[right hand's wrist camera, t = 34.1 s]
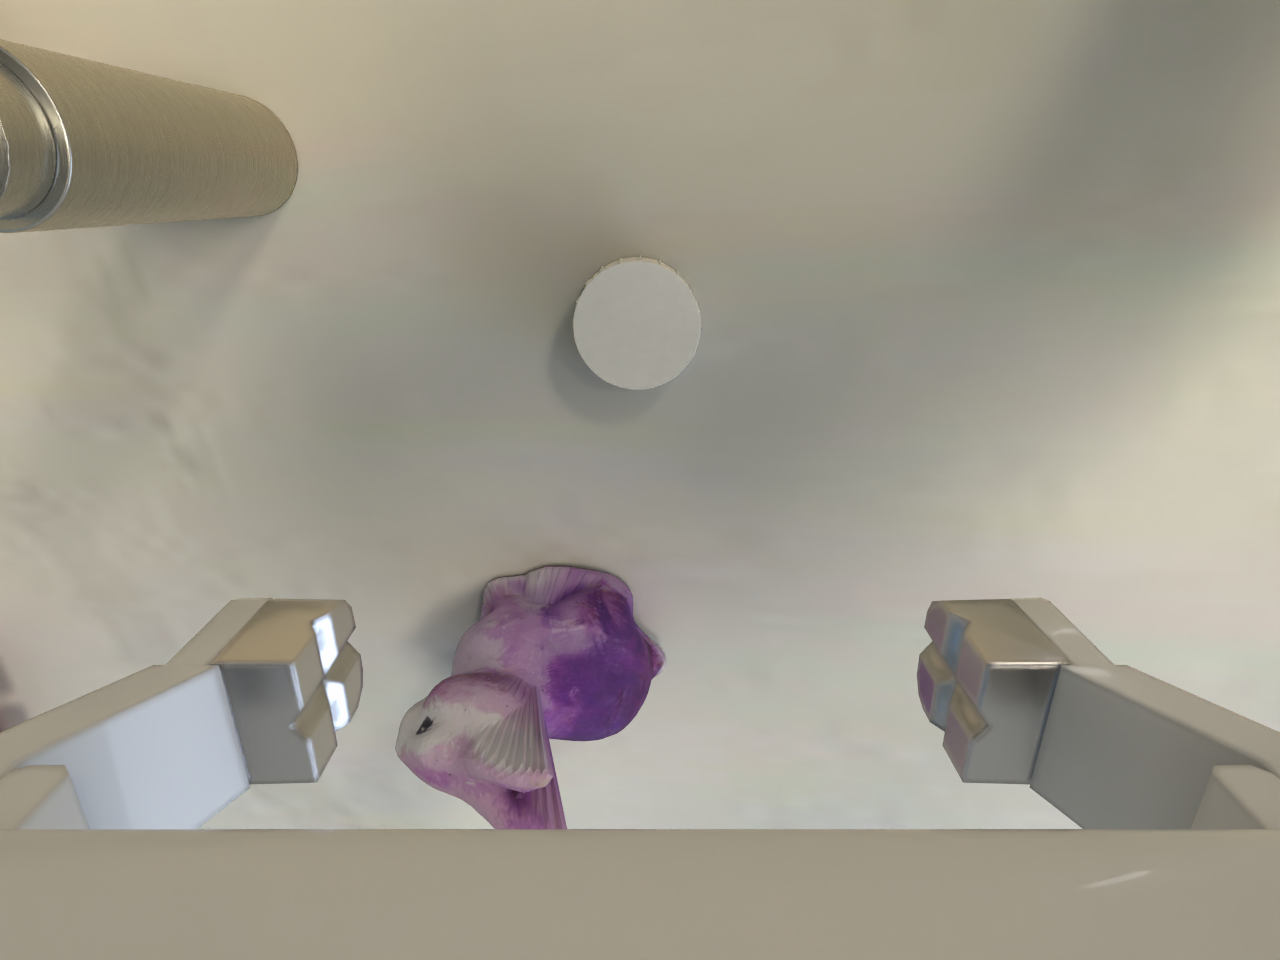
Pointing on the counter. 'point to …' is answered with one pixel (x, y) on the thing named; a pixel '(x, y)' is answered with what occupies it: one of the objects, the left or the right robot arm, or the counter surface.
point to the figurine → (530, 692)
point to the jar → (129, 147)
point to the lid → (637, 323)
